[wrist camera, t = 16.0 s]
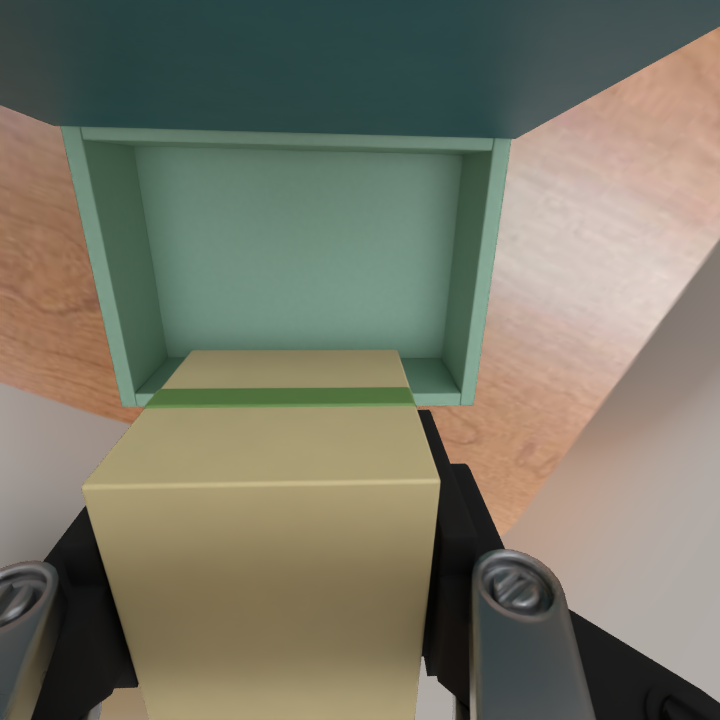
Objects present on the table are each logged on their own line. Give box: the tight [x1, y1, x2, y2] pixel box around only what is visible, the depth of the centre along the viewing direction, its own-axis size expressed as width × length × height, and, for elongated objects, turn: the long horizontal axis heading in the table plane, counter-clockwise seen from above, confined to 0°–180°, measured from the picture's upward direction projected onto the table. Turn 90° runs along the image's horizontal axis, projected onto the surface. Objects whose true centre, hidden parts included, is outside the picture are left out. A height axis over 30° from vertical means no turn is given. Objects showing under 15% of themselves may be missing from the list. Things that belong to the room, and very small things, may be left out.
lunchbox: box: [60, 126, 511, 407], centre depth 24 cm, size 14×19×6 cm
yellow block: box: [81, 350, 441, 720], centre depth 9 cm, size 5×6×5 cm
